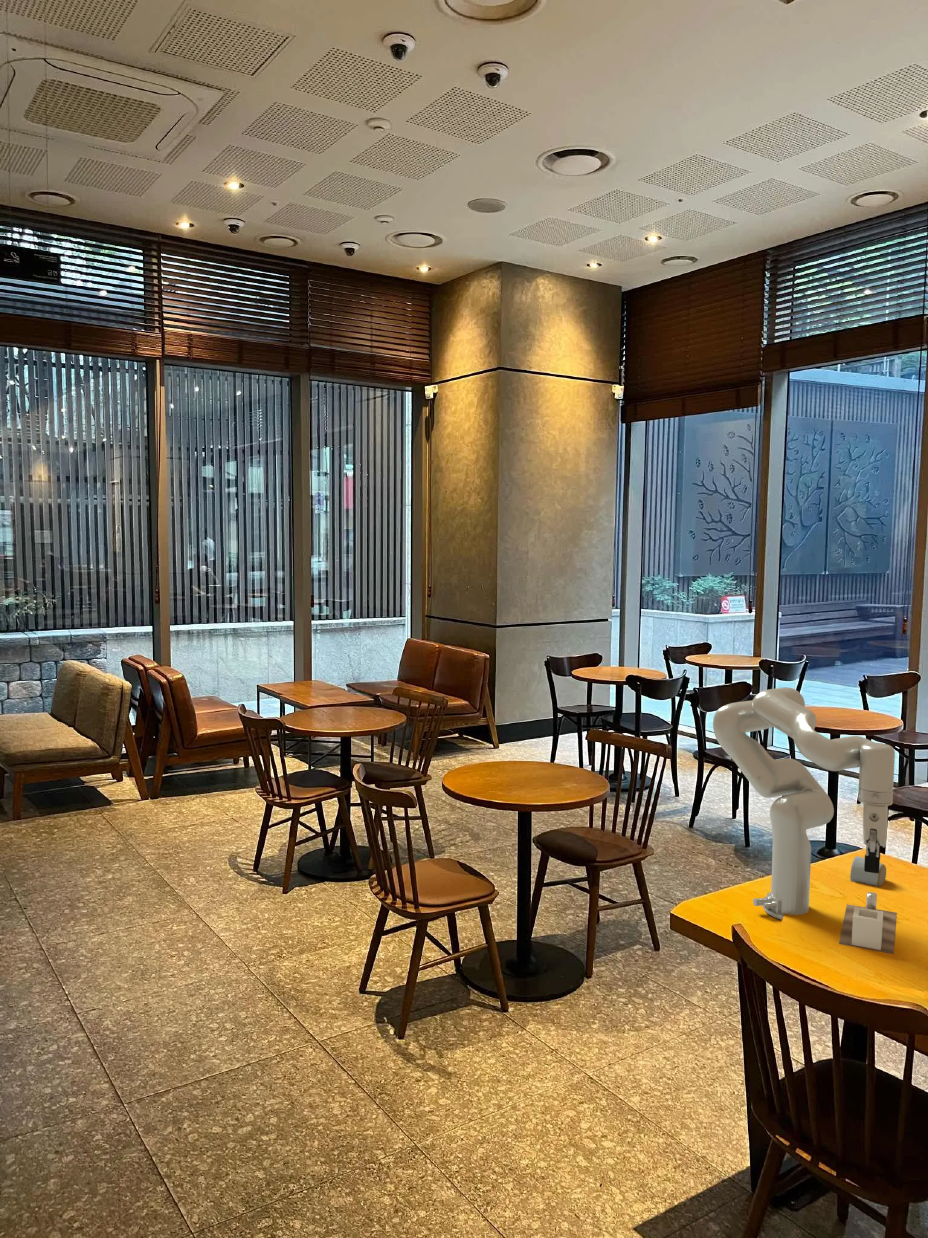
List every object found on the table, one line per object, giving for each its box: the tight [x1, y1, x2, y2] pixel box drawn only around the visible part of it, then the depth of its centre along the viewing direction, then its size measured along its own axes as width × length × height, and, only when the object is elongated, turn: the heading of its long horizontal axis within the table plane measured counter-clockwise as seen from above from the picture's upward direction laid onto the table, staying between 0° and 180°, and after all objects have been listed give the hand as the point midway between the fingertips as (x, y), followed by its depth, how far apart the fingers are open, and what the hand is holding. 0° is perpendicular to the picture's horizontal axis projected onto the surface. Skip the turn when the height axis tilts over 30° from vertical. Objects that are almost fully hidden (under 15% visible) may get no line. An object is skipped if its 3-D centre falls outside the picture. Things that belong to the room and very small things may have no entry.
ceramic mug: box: [849, 855, 887, 887], centre depth 265 cm, size 11×8×8 cm
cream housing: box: [852, 907, 883, 950], centre depth 224 cm, size 6×6×7 cm
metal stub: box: [865, 891, 878, 910], centre depth 241 cm, size 2×2×5 cm
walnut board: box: [838, 904, 898, 955], centre depth 233 cm, size 26×12×2 cm, turn 154°
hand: (872, 865), depth 223 cm, fingers open, 9 cm apart
